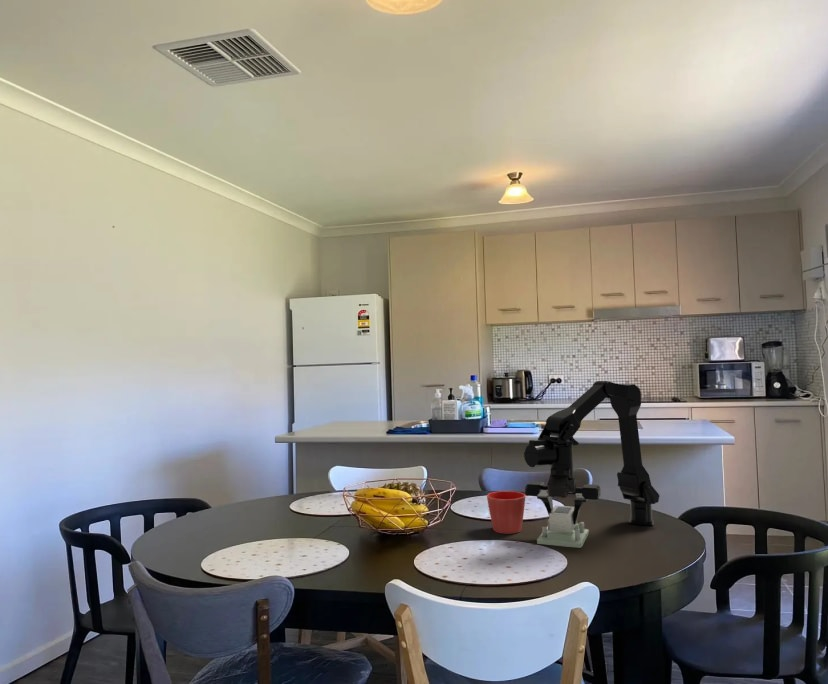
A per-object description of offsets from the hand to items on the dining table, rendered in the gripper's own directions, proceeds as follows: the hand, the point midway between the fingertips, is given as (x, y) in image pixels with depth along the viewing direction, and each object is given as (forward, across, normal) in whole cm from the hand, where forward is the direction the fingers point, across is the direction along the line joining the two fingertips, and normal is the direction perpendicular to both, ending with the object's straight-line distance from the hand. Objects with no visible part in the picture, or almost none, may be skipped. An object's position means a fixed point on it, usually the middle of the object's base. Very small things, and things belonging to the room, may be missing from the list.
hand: (563, 523), depth 163 cm
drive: (+1, 0, 0) cm, 1 cm away
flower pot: (+4, -16, +3) cm, 17 cm away
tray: (+4, 0, 0) cm, 4 cm away
